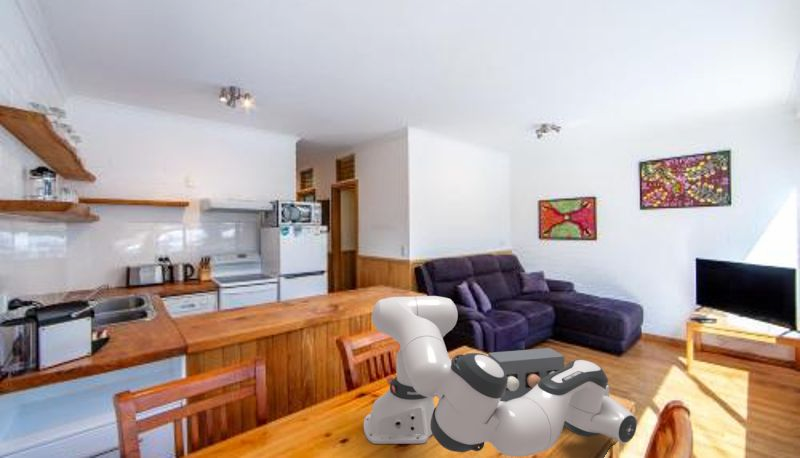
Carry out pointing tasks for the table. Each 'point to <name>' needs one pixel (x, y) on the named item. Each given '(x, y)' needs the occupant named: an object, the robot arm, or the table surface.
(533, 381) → the terracotta button
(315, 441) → the table surface
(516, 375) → the control box
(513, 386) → the cream button
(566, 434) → the table surface
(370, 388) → the table surface
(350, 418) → the table surface
